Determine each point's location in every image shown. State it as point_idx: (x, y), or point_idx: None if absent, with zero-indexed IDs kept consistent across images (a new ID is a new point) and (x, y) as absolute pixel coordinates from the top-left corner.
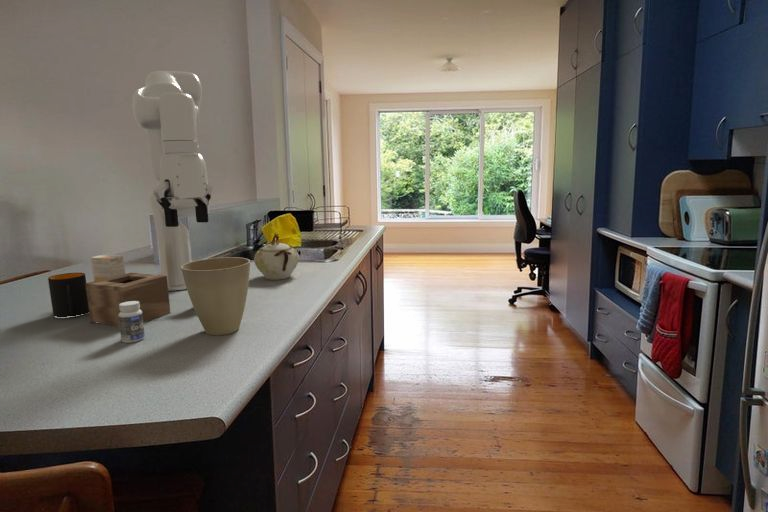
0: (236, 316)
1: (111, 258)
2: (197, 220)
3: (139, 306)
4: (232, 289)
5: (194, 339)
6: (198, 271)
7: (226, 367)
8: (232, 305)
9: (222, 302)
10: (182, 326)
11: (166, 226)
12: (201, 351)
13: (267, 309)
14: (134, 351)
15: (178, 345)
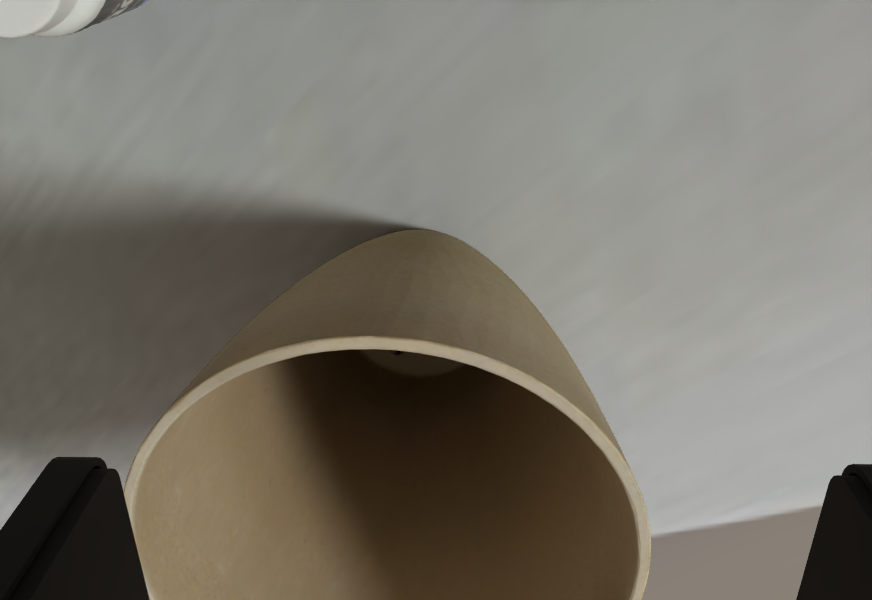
0: (396, 443)
1: None
2: (843, 504)
3: (55, 25)
4: (331, 579)
5: (262, 263)
6: None
7: None
8: (354, 496)
9: (300, 495)
10: (399, 45)
11: (61, 462)
12: (169, 386)
13: (814, 304)
14: (9, 113)
15: (170, 251)
